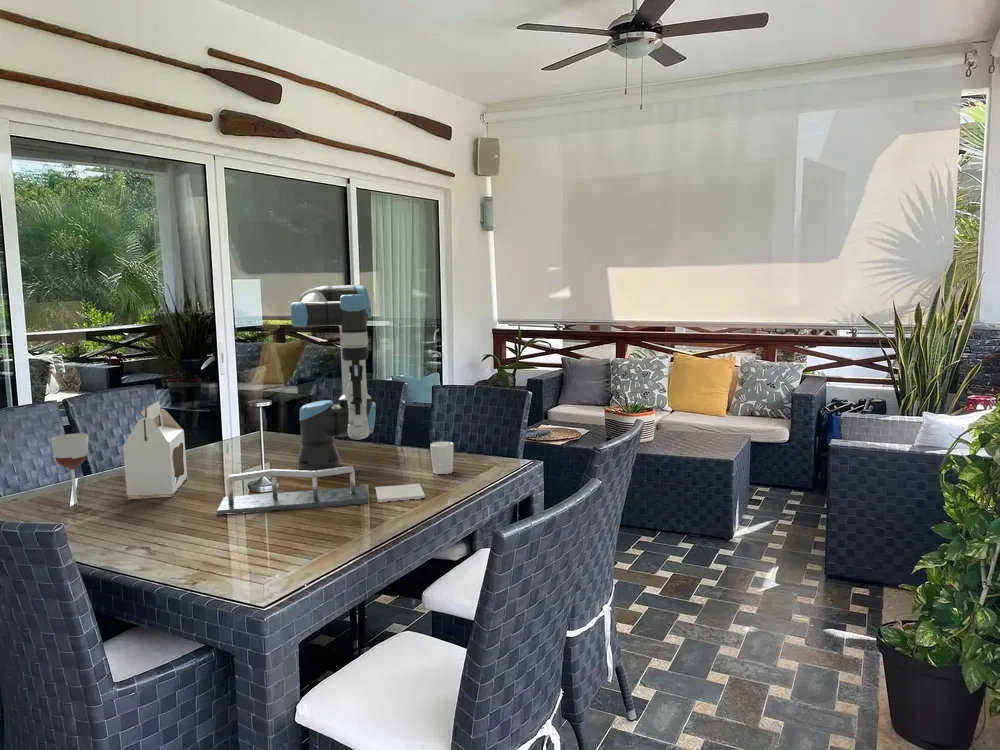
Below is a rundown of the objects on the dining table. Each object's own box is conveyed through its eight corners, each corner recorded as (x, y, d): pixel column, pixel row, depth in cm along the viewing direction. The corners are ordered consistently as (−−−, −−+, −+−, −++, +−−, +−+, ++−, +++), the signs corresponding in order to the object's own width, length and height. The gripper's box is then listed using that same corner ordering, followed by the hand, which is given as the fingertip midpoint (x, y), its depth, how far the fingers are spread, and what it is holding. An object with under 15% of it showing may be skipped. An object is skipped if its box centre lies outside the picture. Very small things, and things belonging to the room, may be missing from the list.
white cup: (455, 469, 256) (455, 441, 255) (452, 475, 248) (451, 446, 247) (433, 469, 257) (432, 441, 255) (429, 475, 249) (428, 446, 248)
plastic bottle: (374, 437, 223) (371, 372, 221) (360, 442, 217) (357, 374, 215) (356, 436, 226) (354, 371, 224) (343, 440, 220) (340, 374, 218)
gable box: (145, 482, 247) (139, 400, 244) (187, 479, 250) (181, 398, 246) (126, 501, 225) (119, 410, 222) (173, 497, 228) (166, 408, 225)
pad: (375, 490, 232) (375, 487, 232) (419, 486, 235) (419, 483, 235) (377, 502, 218) (377, 499, 218) (425, 498, 221) (424, 495, 221)
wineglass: (101, 506, 220) (94, 434, 217) (73, 515, 211) (66, 440, 208) (79, 504, 223) (72, 432, 220) (50, 513, 214) (43, 439, 211)
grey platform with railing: (224, 501, 222) (222, 469, 221) (365, 490, 231) (364, 459, 230) (217, 515, 208) (215, 481, 207) (367, 503, 217) (366, 470, 216)
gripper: (342, 344, 227) (345, 418, 230) (341, 349, 208) (345, 429, 211) (366, 343, 228) (370, 417, 231) (368, 348, 210) (371, 428, 213)
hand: (358, 423), depth 221 cm, fingers closed on plastic bottle, 6 cm apart
